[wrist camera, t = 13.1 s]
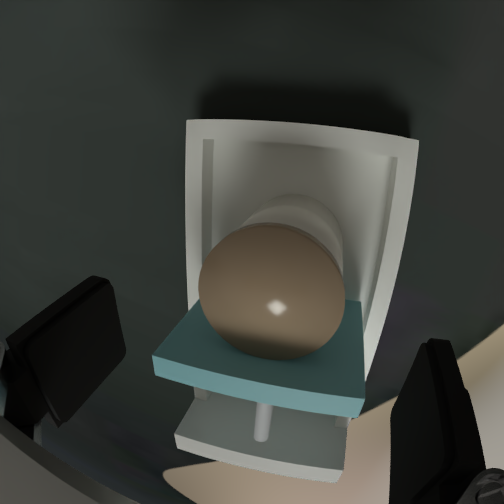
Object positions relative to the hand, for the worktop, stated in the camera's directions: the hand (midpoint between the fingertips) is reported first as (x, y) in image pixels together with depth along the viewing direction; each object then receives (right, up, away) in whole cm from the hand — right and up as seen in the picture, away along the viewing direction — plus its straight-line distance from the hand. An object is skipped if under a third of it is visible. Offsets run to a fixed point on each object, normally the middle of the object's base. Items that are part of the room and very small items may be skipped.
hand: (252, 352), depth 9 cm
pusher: (+2, -4, +12) cm, 13 cm away
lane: (+2, 0, +12) cm, 12 cm away
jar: (+2, +3, +10) cm, 11 cm away
